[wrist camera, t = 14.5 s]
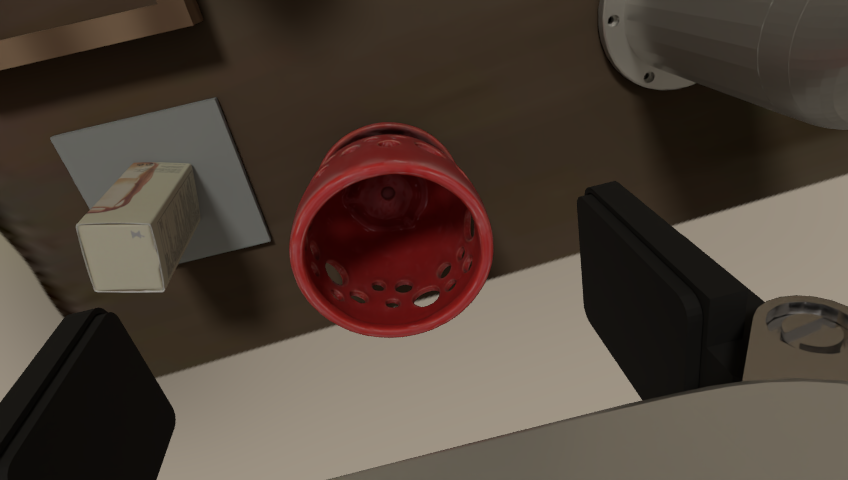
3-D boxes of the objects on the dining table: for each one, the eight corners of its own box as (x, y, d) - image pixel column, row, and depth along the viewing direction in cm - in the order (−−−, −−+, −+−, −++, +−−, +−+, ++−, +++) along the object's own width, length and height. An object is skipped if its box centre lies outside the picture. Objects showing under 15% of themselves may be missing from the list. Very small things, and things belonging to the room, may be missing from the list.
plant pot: (378, 72, 40) (391, 114, 30) (491, 183, 46) (537, 251, 35) (266, 192, 43) (243, 269, 33) (385, 283, 49) (398, 373, 38)
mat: (216, 97, 39) (215, 99, 39) (271, 238, 45) (270, 241, 45) (53, 135, 39) (49, 138, 39) (130, 272, 45) (127, 276, 44)
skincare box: (130, 160, 40) (72, 219, 31) (193, 161, 41) (153, 219, 32) (143, 224, 42) (91, 294, 34) (201, 224, 43) (166, 293, 34)
